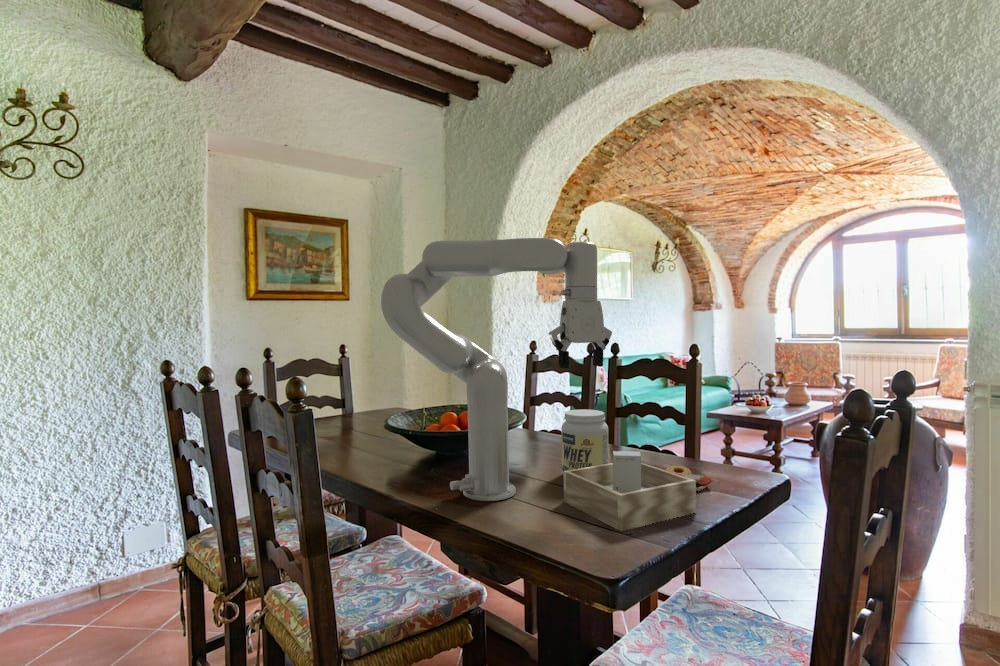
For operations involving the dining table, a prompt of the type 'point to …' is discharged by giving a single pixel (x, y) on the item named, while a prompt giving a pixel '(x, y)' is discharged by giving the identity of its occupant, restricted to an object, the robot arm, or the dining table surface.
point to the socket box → (630, 496)
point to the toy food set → (691, 476)
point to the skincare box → (626, 471)
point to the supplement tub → (584, 439)
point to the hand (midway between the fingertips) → (581, 367)
